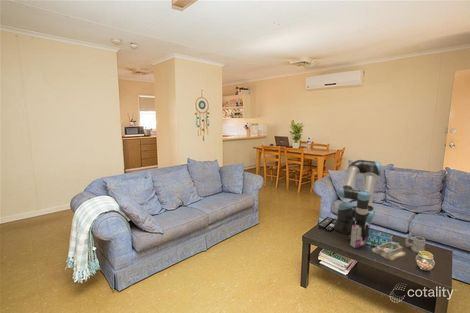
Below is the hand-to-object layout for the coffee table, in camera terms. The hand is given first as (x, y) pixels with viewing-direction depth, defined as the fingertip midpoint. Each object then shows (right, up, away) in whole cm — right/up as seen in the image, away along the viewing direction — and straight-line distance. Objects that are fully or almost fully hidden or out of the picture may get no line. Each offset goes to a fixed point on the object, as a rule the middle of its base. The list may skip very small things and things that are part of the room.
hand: (358, 242), depth 181 cm
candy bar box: (0, -2, +1) cm, 2 cm away
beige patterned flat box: (+17, -4, -8) cm, 20 cm away
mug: (+39, -4, -4) cm, 39 cm away
